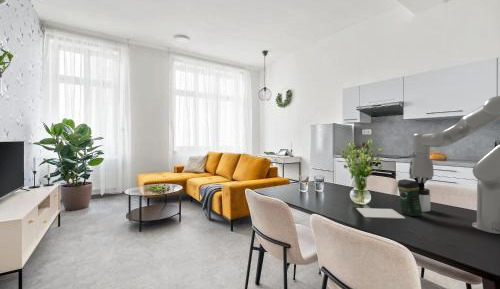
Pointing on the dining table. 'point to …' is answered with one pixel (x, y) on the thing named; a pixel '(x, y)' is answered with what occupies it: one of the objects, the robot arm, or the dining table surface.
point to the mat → (379, 213)
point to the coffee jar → (409, 197)
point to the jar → (424, 200)
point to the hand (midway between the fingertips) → (420, 189)
